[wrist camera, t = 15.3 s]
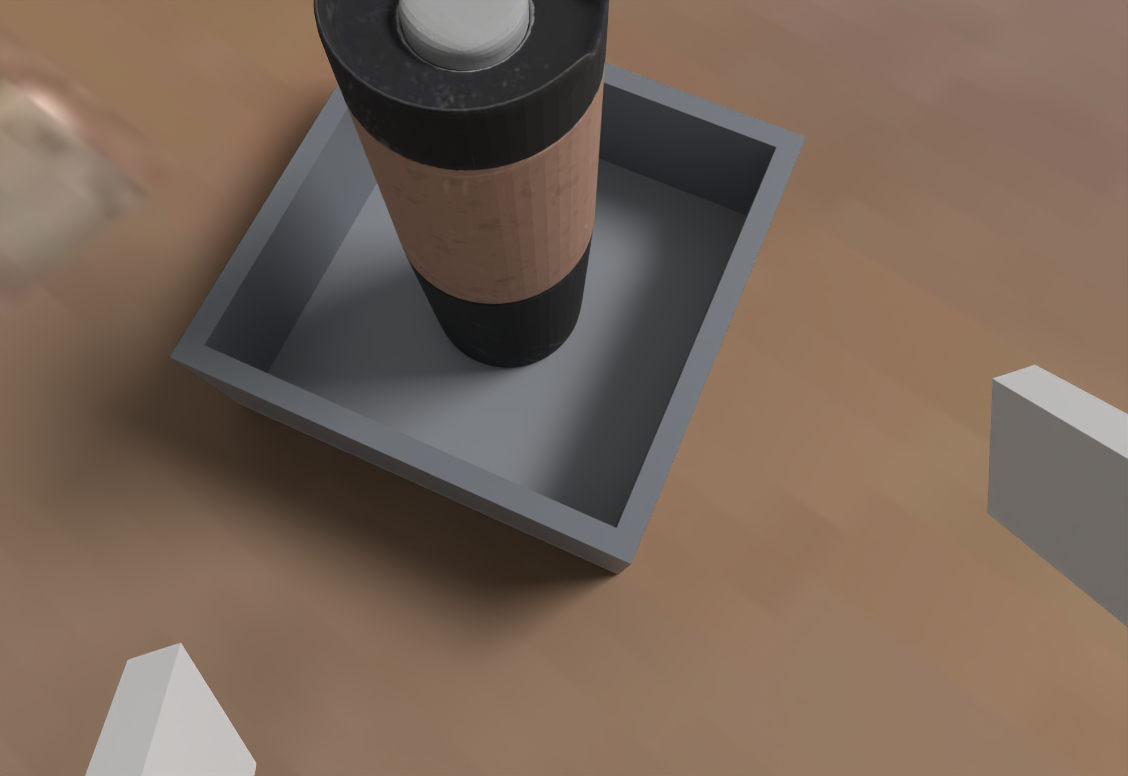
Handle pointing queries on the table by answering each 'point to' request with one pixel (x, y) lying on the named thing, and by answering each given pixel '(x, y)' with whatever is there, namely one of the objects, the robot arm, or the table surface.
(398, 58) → the travel mug
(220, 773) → the robot arm
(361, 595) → the table surface
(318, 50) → the table surface
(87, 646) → the table surface
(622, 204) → the bin
